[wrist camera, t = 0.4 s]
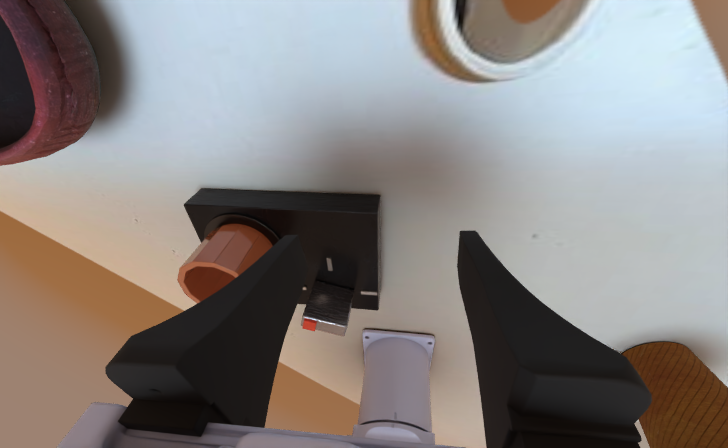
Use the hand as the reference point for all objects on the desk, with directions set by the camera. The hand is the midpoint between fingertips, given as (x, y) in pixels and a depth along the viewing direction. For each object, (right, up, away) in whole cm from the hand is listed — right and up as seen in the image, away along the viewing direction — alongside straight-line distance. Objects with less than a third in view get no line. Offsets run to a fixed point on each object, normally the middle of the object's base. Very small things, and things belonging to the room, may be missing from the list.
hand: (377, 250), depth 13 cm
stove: (-7, -1, +14) cm, 15 cm away
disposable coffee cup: (+29, -13, +18) cm, 36 cm away
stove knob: (-3, -5, +13) cm, 14 cm away
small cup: (-10, -1, +11) cm, 15 cm away
